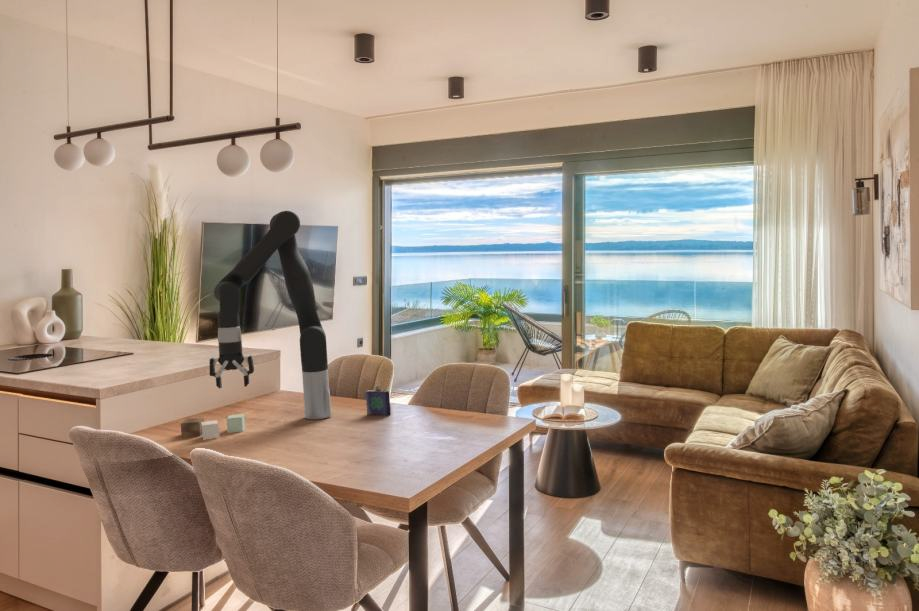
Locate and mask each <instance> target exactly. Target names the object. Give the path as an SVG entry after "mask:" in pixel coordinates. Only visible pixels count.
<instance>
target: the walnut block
mask: <svg viewBox="0 0 919 611" xmlns="http://www.w3.org/2000/svg"><path fill="white" fill-rule="evenodd" d="M201 422H205V420H204V417H197V418H185V419H184V420H182V421H181V422H180V433H181V438H193V437H194V438H195V437H196V438H197V437H201V436H202V425H201Z"/></svg>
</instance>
